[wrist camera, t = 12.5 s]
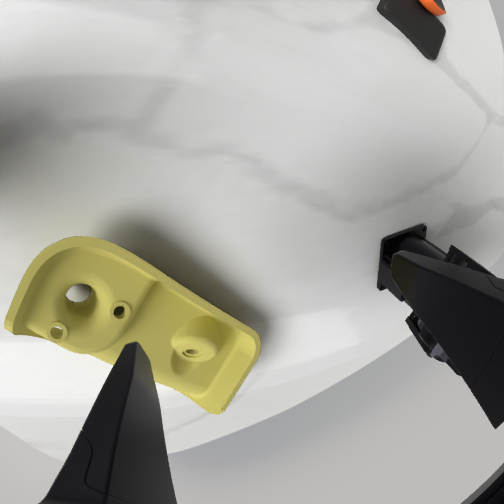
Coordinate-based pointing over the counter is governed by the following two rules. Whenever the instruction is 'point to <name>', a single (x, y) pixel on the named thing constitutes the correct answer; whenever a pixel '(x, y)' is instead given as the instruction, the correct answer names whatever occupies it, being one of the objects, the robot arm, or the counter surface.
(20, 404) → the counter surface
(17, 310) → the plastic component
